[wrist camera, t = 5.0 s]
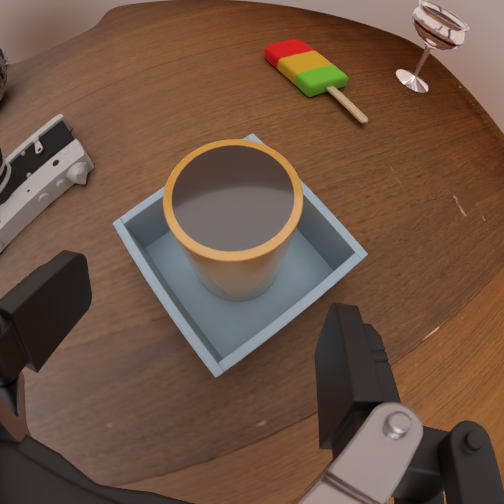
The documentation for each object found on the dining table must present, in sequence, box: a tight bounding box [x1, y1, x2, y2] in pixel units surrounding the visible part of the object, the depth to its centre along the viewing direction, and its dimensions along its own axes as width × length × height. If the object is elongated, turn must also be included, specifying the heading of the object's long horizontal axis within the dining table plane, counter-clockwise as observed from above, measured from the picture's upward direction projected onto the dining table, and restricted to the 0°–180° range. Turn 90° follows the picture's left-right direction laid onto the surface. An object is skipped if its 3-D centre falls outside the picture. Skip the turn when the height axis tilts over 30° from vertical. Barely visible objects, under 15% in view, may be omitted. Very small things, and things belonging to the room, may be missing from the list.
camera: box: [0, 114, 94, 253], centre depth 20 cm, size 15×7×10 cm
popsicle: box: [265, 40, 368, 124], centre depth 28 cm, size 6×15×2 cm, turn 31°
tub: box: [113, 133, 368, 377], centre depth 19 cm, size 11×11×5 cm
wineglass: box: [396, 0, 469, 93], centre depth 25 cm, size 7×7×12 cm
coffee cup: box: [163, 139, 304, 302], centre depth 17 cm, size 7×6×10 cm
